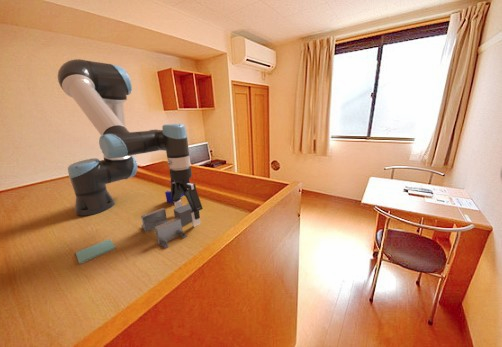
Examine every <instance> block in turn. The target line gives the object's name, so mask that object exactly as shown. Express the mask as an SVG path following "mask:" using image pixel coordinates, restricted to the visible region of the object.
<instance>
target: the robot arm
mask: <svg viewBox="0 0 502 347" xmlns="http://www.w3.org/2000/svg"><path fill="white" fill-rule="evenodd" d="M57 82H58V83H59V86H60V88H61V89H62V91H63V92H64V93H65V94H66V95H67V96H68V97H71V98H72V99H73V100H74V101H75V103H76V104H77V106H78V107H79V108H80V110H81V111H82V112H83V114H84V115H85V116H86V117H87V119H88V120H89V122H90V123H91V124H92V126H93V127H94V128H95V129H96V131H97V133H98V134H99V135H100V136H99V138H98V140H99V141H98V144H99V148H100V150H101V153H102V155H103V159H102V160H100V159H99V158H95V157H94V158H87V159H82V160H79V161H77V162H76V161H75V162H74V163H72V164H70V165H68V166H67V173H68V177H69V179H70V182H71V185H72V189H73V191H74V195H75V204H74V211H75V215H77V216H82V217H83V216H90V215H95V214H100V213H102V212H105V211H107V210H109V209H112V208H113V207H114V206H115V204H116V201H115V199H114V198H113V197H112V195H111V194H110V192H109V191H108V189H107V186H106V185H109V184H111V183H115V182H120V181H122V180H123V181H124V180H128V179H130V178H133V177H134V176H136V175H137V171H138V163H137V160H136V158H135V155H140V154H147V153H148V154H149V153H152V152H153V153H154V152H157V151H165V153H166V158H167V161H166V163H167V164H168V168H169V177H170V181H171V183H170V191H171V199H173V203H174V209H176V208H179V207H181V206H183V203H182V197H181V194H182V193H183V195H184V196H185V197H186V200H187V202H188V204H190V207H191V209H192V211H191V214H192V226H193V228H196V227H197V226H199V225H201V218H200V211H202V210H203V209H204V208H203V205H202V202H201V199H200V196H199V194H198V191H197V187H196V186H197V185H196V183H195V182H193V183H191V181H190V179H191V178H192V177H193V173H192V172H193V171H192V167H191V166H192V164H191V157H190V150H189V143H188V134H187V130H186V126H185V125H184V124H183V123H169V124H163V125H162V127H161V128H162V129H150V130H144V131H141V130H140V131H131V132H130V131H129V130H128V129H127V128H126V120H125V119H126V118H125V108H124V103H125V102H126V101H127V100H128V98H127V97H128V96H129V95H130V94H132V90H133V87H132V86H133V85H132V80H131V78H130V76H129V74H128V73H127V71H126V69H124V67H122V66H120V65H116V64H112V63H104V62H98V61H92V60H85V59H81V58H79V59H77V58H76V59H70V60H68V61H65V63H63V64H62V65H60V68H59V69H58V72H57ZM184 196H183V197H184Z"/></svg>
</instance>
